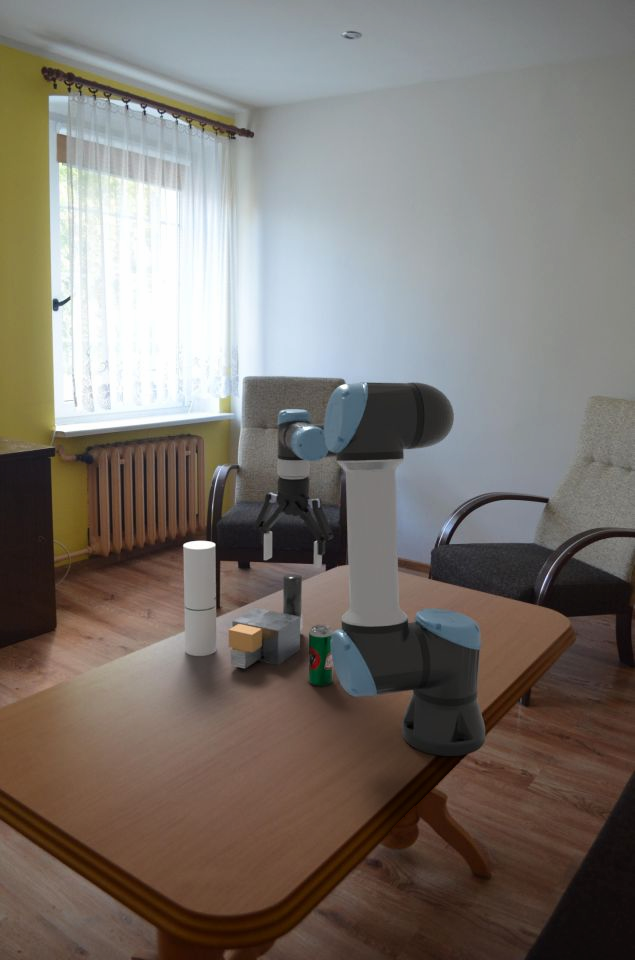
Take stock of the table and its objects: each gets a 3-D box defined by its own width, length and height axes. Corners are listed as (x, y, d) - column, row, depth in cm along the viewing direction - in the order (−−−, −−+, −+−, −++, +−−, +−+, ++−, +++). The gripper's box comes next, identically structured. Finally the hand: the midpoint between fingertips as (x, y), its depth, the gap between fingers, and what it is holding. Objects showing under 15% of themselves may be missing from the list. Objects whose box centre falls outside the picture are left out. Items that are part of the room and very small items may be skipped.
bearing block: (278, 665, 176) (278, 630, 175) (232, 654, 182) (232, 621, 180) (299, 649, 185) (300, 616, 184) (255, 639, 191) (255, 607, 189)
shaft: (246, 669, 172) (246, 608, 169) (229, 664, 174) (229, 605, 171) (304, 629, 195) (305, 575, 192) (288, 626, 197) (289, 573, 194)
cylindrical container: (219, 644, 187) (218, 541, 183) (212, 656, 180) (211, 550, 176) (189, 642, 188) (187, 540, 183) (181, 655, 181) (179, 548, 176)
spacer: (252, 652, 172) (252, 634, 171) (228, 646, 174) (228, 629, 174) (261, 646, 175) (261, 628, 174) (238, 640, 178) (238, 623, 177)
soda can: (329, 688, 165) (330, 633, 163) (306, 685, 166) (306, 631, 164) (334, 678, 170) (335, 624, 168) (311, 675, 171) (311, 622, 169)
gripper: (348, 478, 184) (346, 567, 188) (256, 468, 195) (256, 551, 200) (334, 484, 178) (332, 575, 182) (239, 472, 189) (239, 559, 193)
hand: (292, 563), depth 191 cm, fingers open, 13 cm apart
